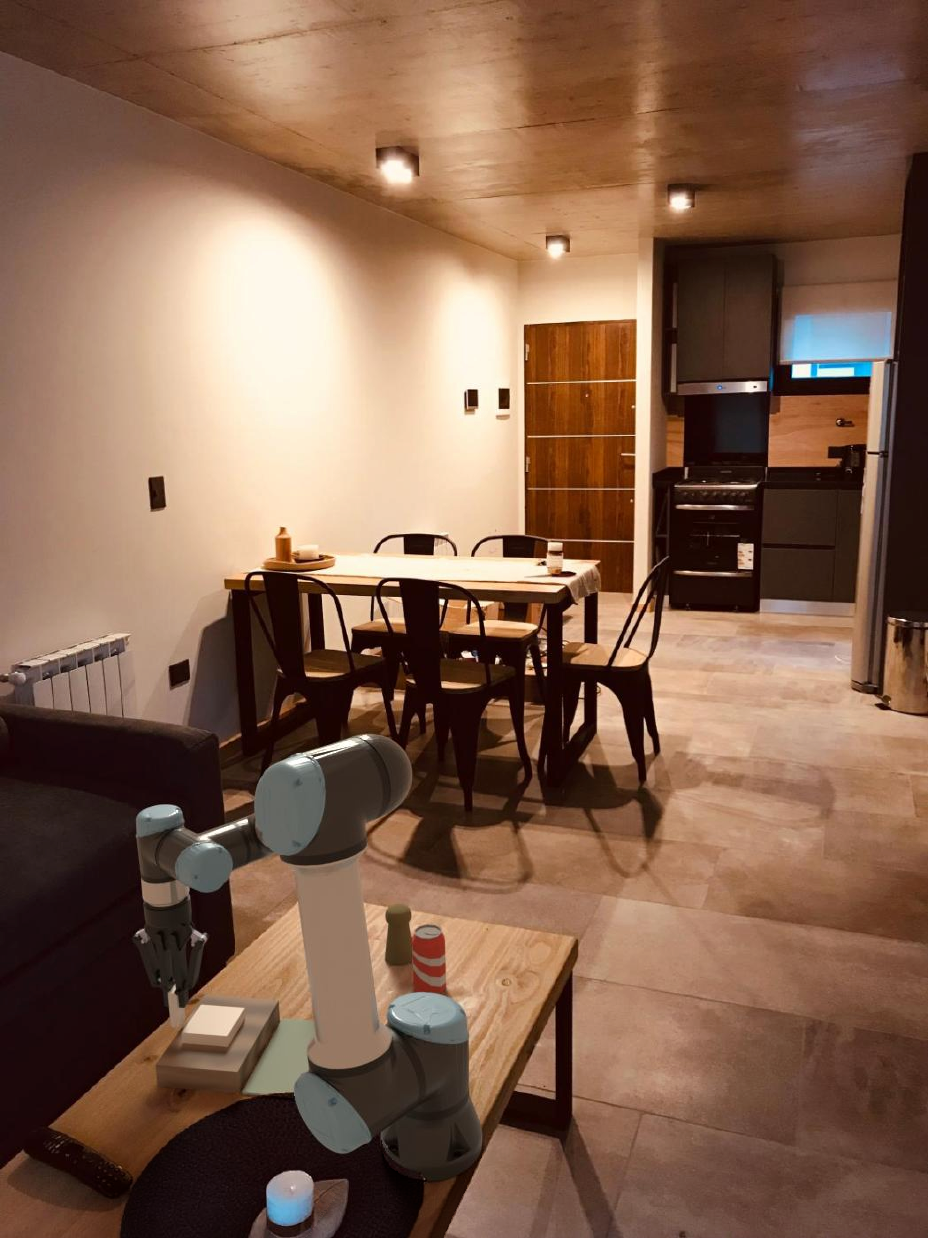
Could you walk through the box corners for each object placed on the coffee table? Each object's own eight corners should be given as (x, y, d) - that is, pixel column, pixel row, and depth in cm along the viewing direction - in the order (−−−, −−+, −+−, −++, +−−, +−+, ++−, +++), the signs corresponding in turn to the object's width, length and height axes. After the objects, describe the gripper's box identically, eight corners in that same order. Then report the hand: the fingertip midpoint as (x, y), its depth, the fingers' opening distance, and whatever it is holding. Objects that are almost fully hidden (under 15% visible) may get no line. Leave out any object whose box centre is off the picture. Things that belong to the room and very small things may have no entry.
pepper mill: (386, 949, 207) (384, 899, 204) (416, 949, 206) (414, 899, 204) (383, 966, 201) (380, 915, 198) (413, 966, 200) (412, 915, 198)
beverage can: (442, 1000, 189) (441, 941, 186) (409, 996, 190) (407, 938, 188) (449, 981, 195) (448, 924, 192) (417, 978, 196) (415, 921, 194)
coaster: (227, 1046, 170) (227, 1036, 170) (182, 1043, 172) (181, 1032, 171) (245, 1018, 178) (244, 1008, 178) (201, 1015, 179) (201, 1004, 179)
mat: (331, 1102, 162) (331, 1100, 162) (242, 1094, 165) (241, 1092, 165) (363, 1026, 182) (363, 1024, 181) (282, 1020, 184) (282, 1018, 184)
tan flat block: (239, 1094, 165) (237, 1072, 164) (157, 1086, 167) (155, 1065, 166) (280, 1020, 184) (278, 1000, 183) (206, 1014, 186) (204, 994, 185)
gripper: (212, 888, 173) (222, 1012, 178) (140, 884, 175) (152, 1007, 180) (194, 910, 166) (205, 1039, 171) (119, 905, 168) (132, 1033, 173)
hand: (178, 1022), depth 175 cm, fingers closed
